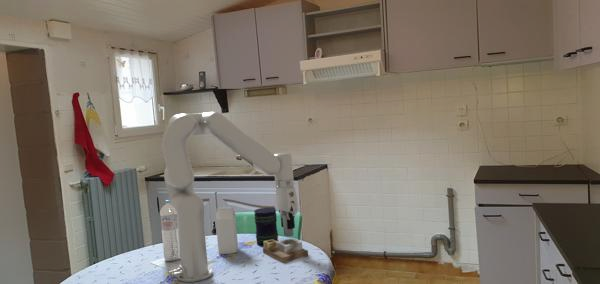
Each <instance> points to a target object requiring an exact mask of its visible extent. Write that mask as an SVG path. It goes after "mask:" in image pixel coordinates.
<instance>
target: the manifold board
mask: <svg viewBox="0 0 600 284" xmlns="http://www.w3.org/2000/svg"><path fill="white" fill-rule="evenodd" d="M263 243H264V246H263V248H262V253H263V254H264V255H267V256H269V257H271V258H272V259H274V260H276V261H277V262H280V263H281V264H283V263H287V262H290V261H293V260H297V259H301V258H305V257H307V256H309V251H308V249H305V248H303V241H301V240H299V239H295V238H293V237H290V238H286V239H282V240H278V241H276V240H274V239H271V240H267V241H263Z"/></svg>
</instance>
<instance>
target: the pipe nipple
mask: <svg viewBox="0 0 600 284" xmlns="http://www.w3.org/2000/svg"><path fill="white" fill-rule="evenodd" d="M290 211H291V210H290ZM281 213H282V217H283V227H282V228H283V229H282V230H283V236H284V237H293V236H294V235H295V233H294V231H295V230H294V228H293V229H287V220H288V218H287V212H284V211H281ZM290 214H291V213H289V215H290Z"/></svg>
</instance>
